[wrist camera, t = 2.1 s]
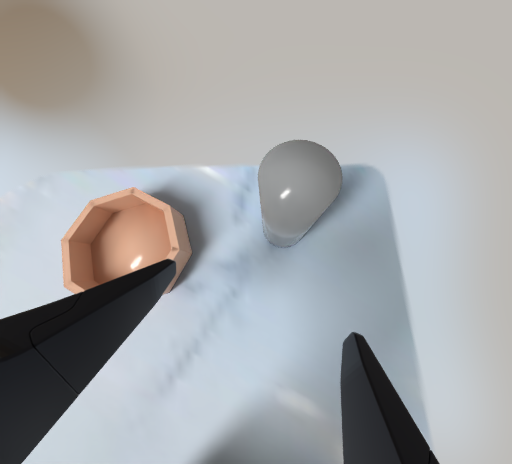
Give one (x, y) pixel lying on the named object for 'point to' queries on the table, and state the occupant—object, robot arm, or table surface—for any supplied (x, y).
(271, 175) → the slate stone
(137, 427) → the table surface
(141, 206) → the terracotta bowl
